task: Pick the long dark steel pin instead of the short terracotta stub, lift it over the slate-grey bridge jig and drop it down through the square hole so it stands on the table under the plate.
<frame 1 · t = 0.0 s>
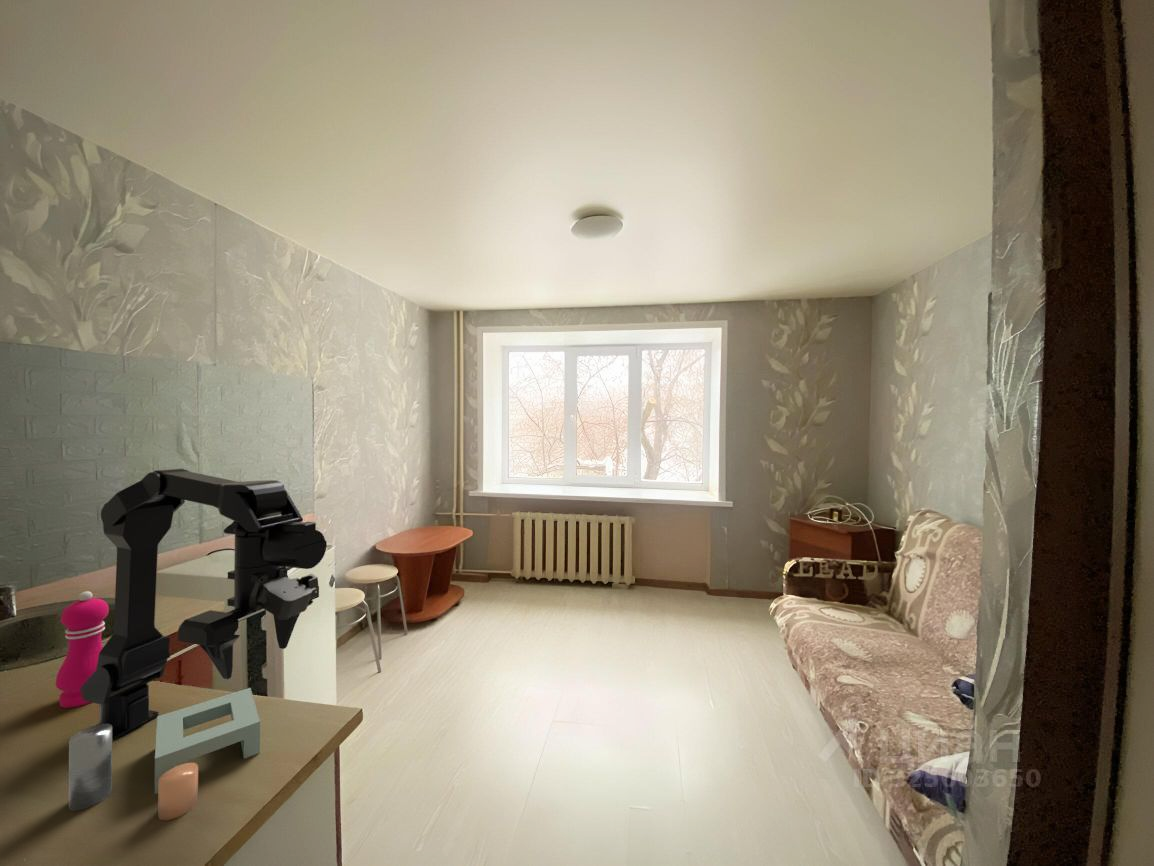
hand: (256, 662, 69), 15 cm above the countertop, tool pointing down, fingers open, 9 cm apart
terracotta stub: (178, 807, 60), on the countertop
slate pin jig: (208, 750, 70), on the countertop
steel pin: (90, 798, 61), on the countertop
pepper mill: (85, 698, 83), on the countertop
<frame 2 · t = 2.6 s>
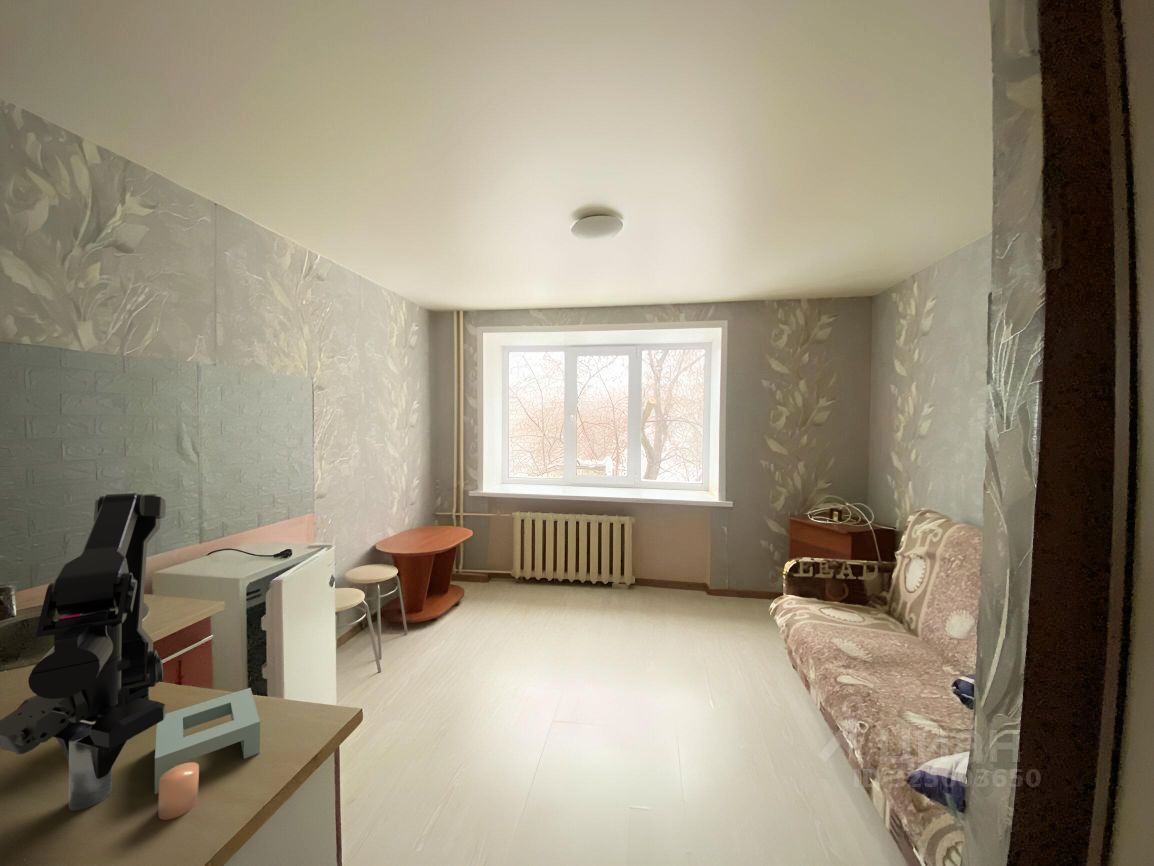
hand: (91, 773, 61), 3 cm above the countertop, tool pointing down, fingers closed on steel pin, 4 cm apart
steel pin: (90, 798, 61), on the countertop, touching gripper
everything else where it was.
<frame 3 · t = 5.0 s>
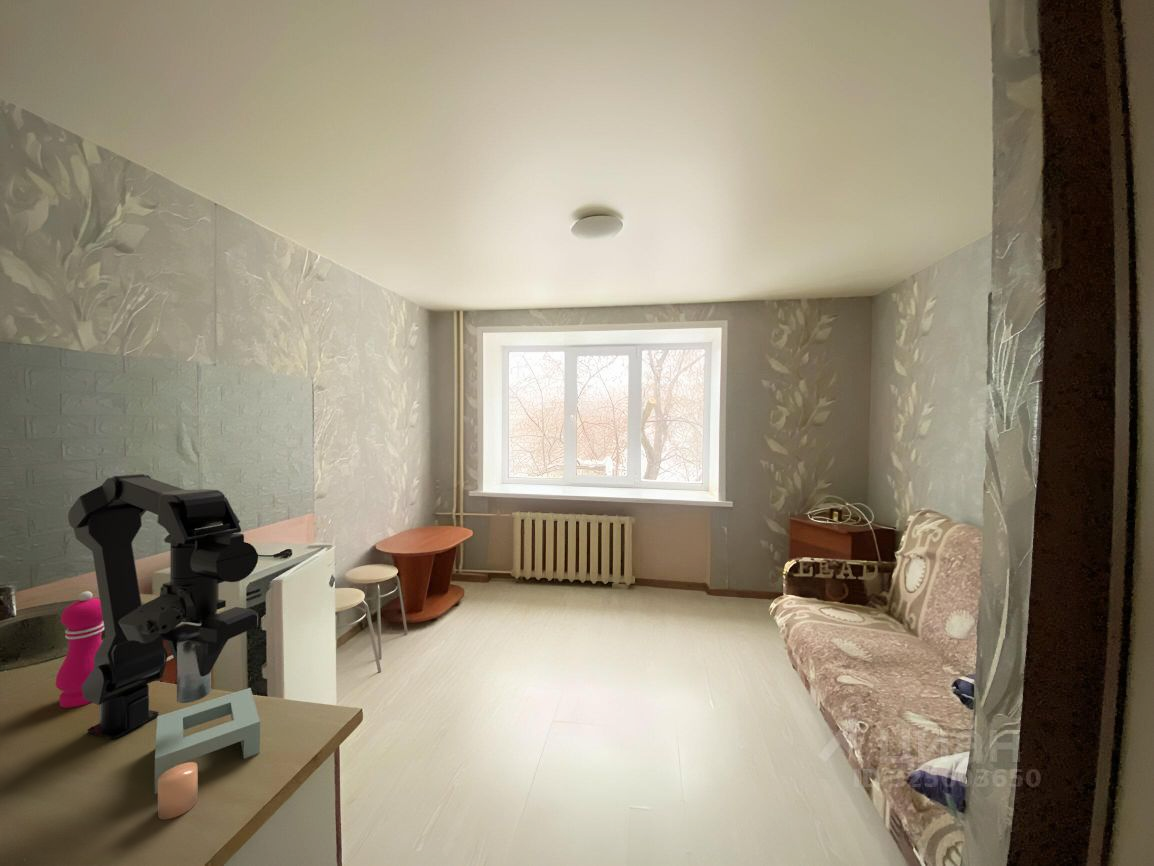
hand: (194, 672, 69), 13 cm above the countertop, tool pointing down, fingers closed on steel pin, 4 cm apart
steel pin: (194, 695, 69), point 10 cm above the countertop, touching gripper
everything else where it was.
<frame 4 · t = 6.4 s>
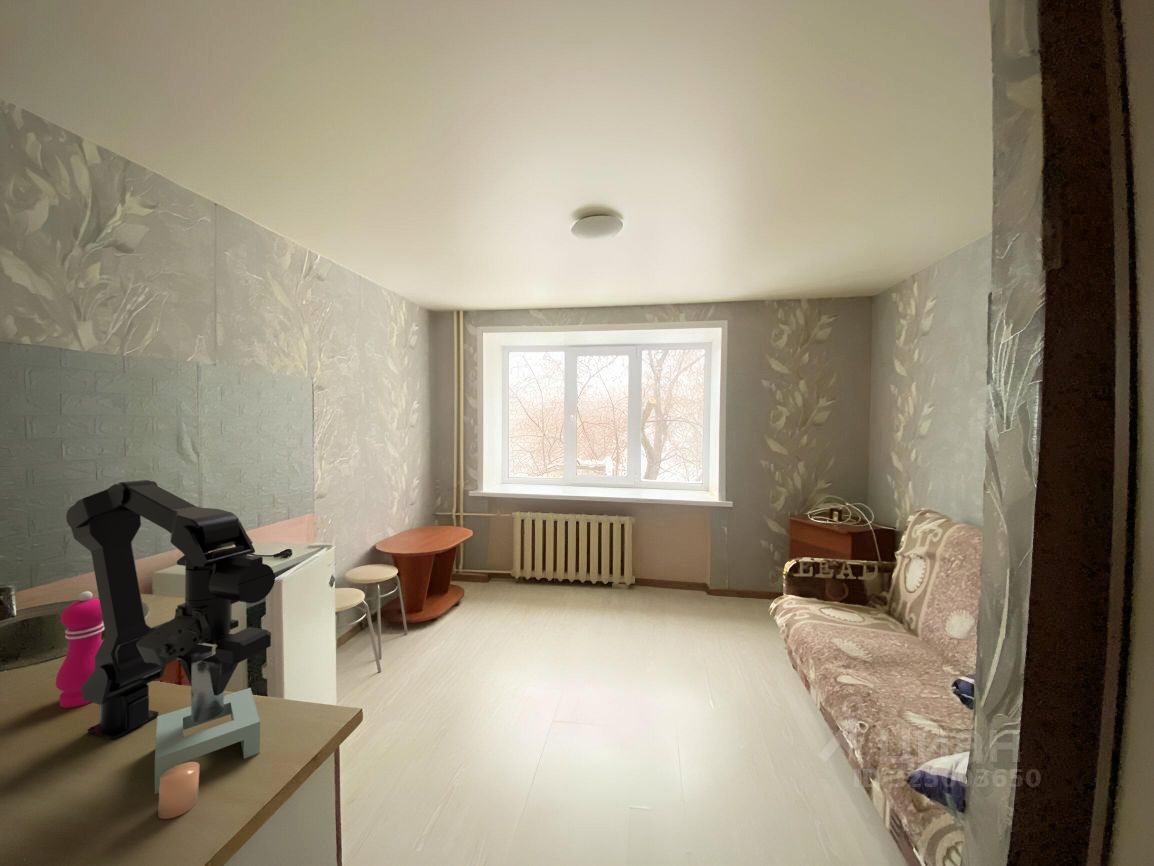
hand: (208, 691, 70), 9 cm above the countertop, tool pointing down, fingers closed on steel pin, 4 cm apart
steel pin: (207, 713, 70), point 6 cm above the countertop, touching gripper
everything else where it was.
when the fingers open (6 cm above the countertop, at t = 7.4 s): steel pin drops 3 cm, on the countertop.
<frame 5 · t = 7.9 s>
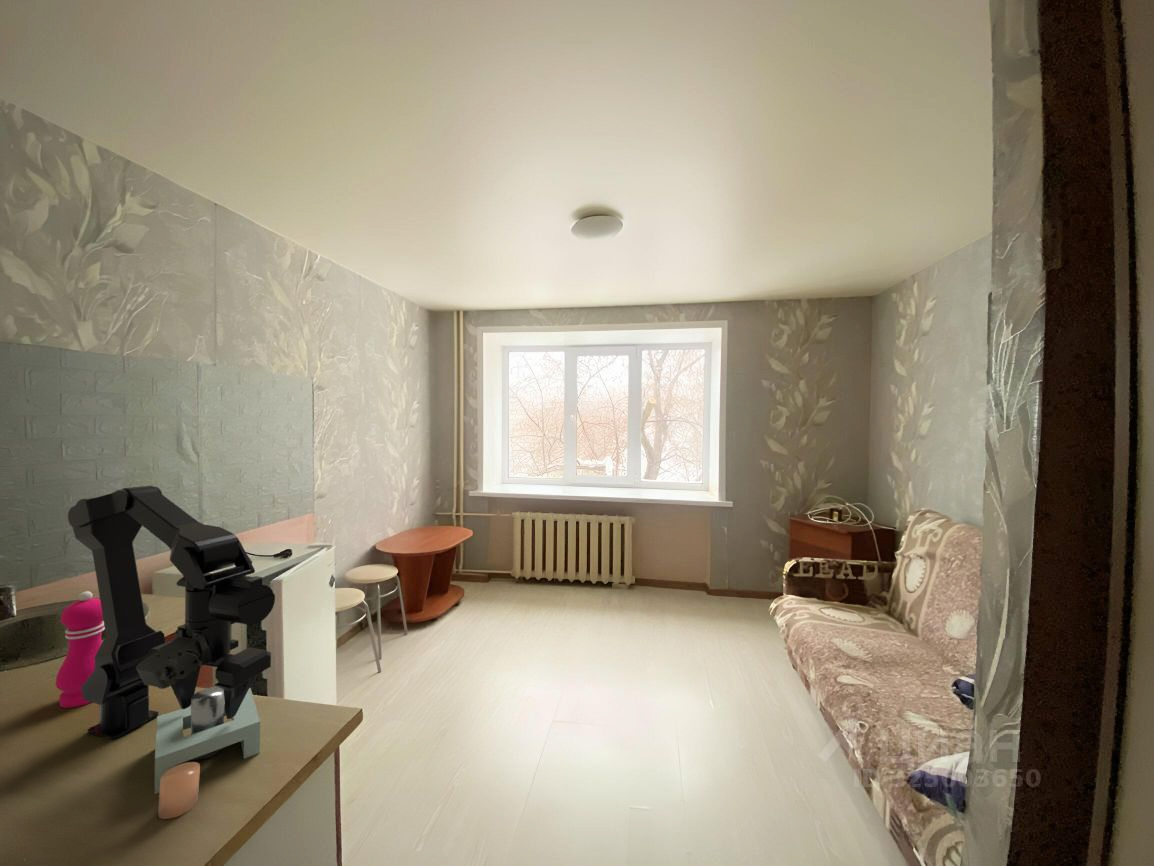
hand: (208, 712, 70), 6 cm above the countertop, tool pointing down, fingers open, 9 cm apart
steel pin: (207, 750, 70), on the countertop
everything else where it was.
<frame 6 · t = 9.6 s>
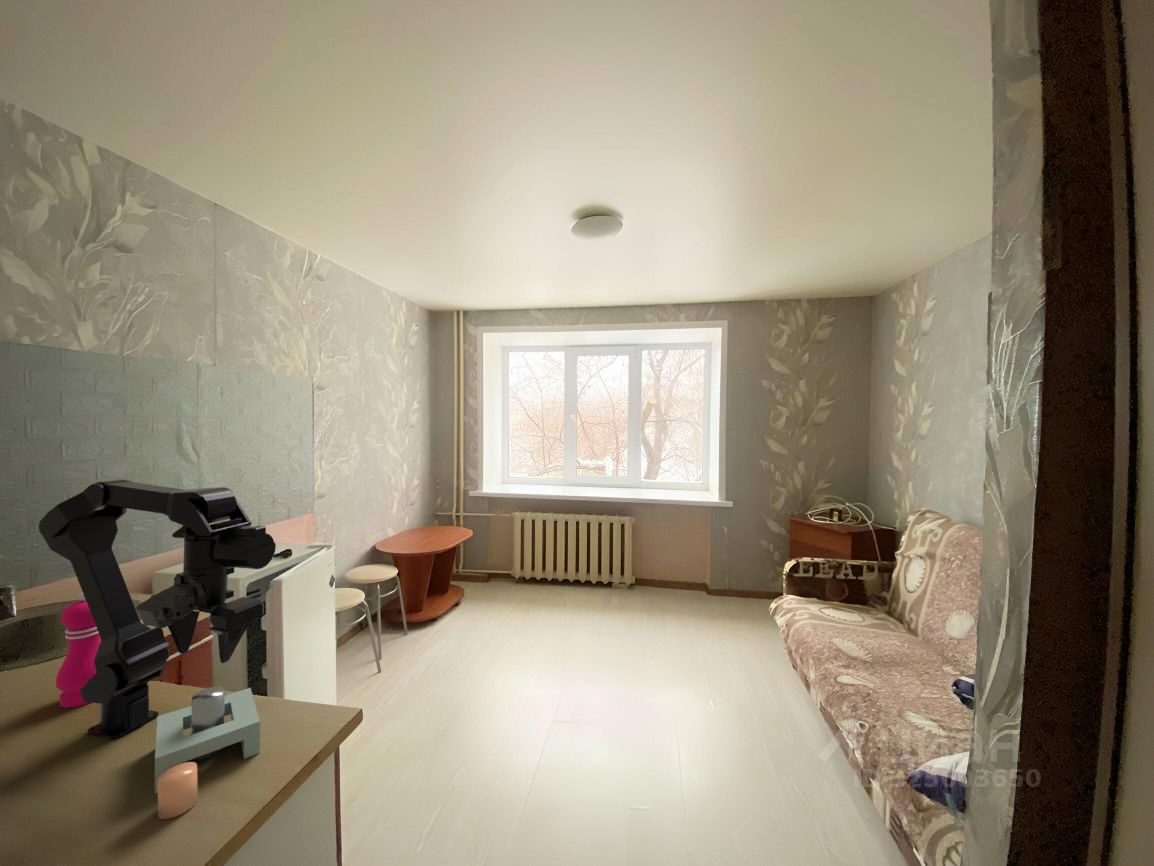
hand: (204, 657, 74), 13 cm above the countertop, tool pointing down, fingers open, 9 cm apart
nothing on the countertop moved.
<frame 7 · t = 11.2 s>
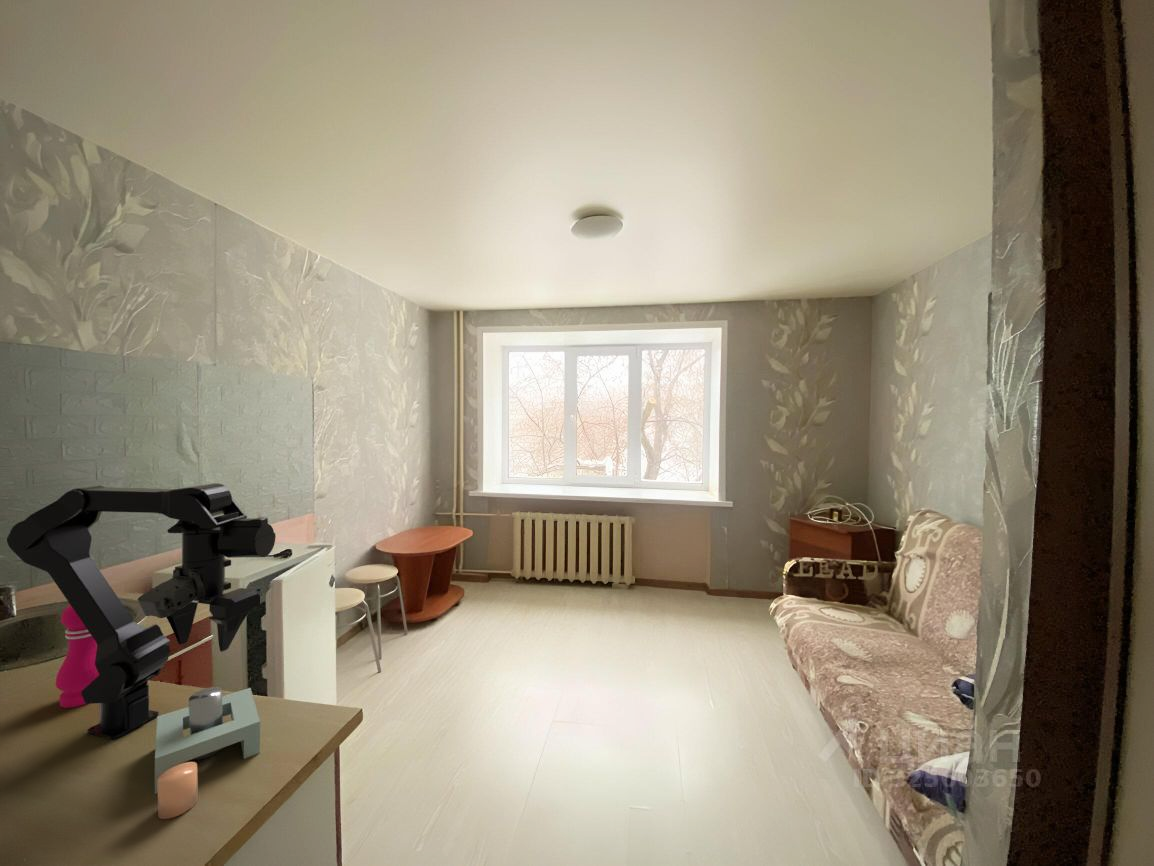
hand: (203, 647, 77), 13 cm above the countertop, tool pointing down, fingers open, 9 cm apart
nothing on the countertop moved.
at the end: steel pin 0.1 cm off-centre on the slate pin jig, point 0.0 cm above the slate pin jig's base; steel pin tilted 2°; terracotta stub moved 0.0 cm from its start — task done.
